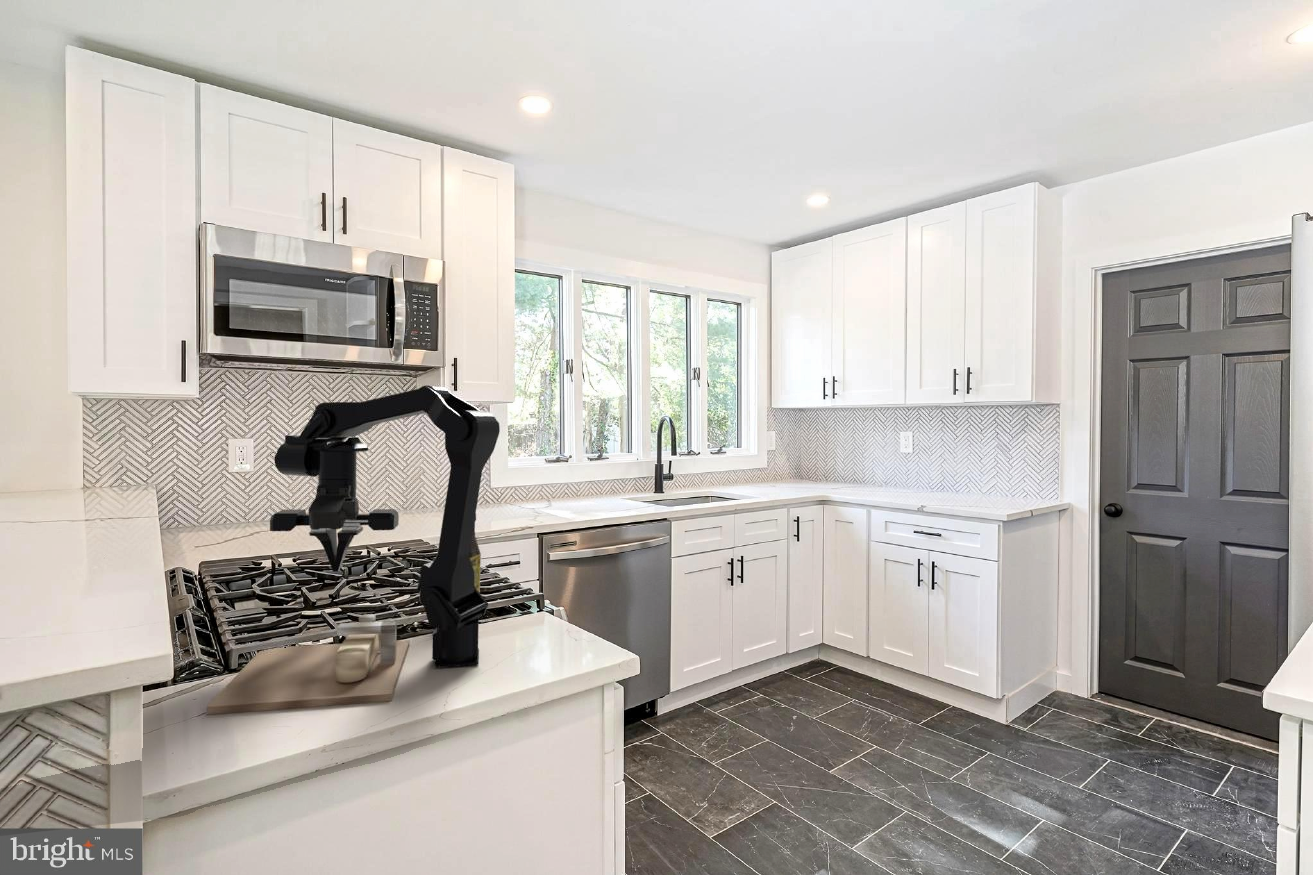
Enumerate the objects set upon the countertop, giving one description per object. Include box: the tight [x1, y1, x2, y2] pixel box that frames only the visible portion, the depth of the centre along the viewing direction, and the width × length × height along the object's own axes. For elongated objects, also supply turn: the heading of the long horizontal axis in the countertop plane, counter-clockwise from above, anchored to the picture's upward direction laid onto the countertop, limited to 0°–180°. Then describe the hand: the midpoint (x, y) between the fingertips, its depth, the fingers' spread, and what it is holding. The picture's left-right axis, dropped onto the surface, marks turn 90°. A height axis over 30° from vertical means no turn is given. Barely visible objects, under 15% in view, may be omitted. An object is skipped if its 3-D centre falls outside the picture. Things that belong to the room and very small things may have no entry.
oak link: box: [335, 620, 381, 682], centre depth 101 cm, size 16×5×4 cm, turn 14°
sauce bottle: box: [456, 513, 482, 610], centre depth 129 cm, size 6×6×20 cm
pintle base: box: [205, 613, 411, 716], centre depth 98 cm, size 22×22×7 cm
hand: (336, 571), depth 112 cm, fingers closed
